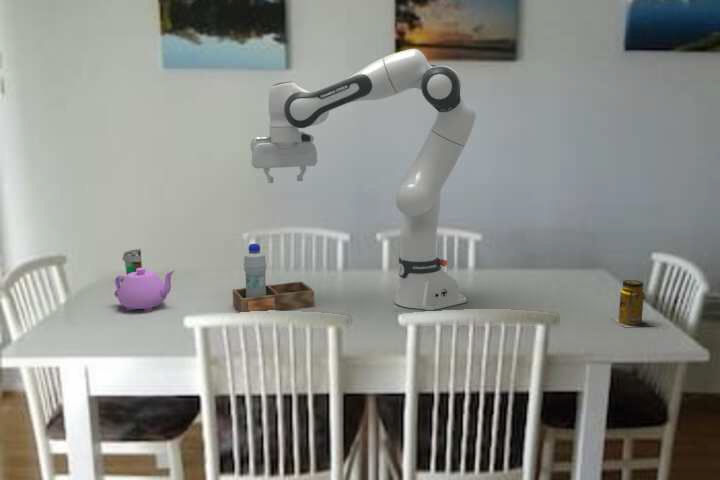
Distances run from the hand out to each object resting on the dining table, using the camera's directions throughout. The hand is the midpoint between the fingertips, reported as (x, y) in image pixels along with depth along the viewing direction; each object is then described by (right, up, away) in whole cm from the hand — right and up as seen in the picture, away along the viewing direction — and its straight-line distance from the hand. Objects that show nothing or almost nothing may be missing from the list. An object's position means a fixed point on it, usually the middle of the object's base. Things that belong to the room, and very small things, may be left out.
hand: (285, 181), depth 203 cm
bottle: (-8, -39, -3) cm, 40 cm away
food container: (-57, -33, +28) cm, 71 cm away
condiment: (+100, -42, -19) cm, 110 cm away
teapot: (-43, -39, -2) cm, 57 cm away
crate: (-4, -38, -1) cm, 38 cm away
